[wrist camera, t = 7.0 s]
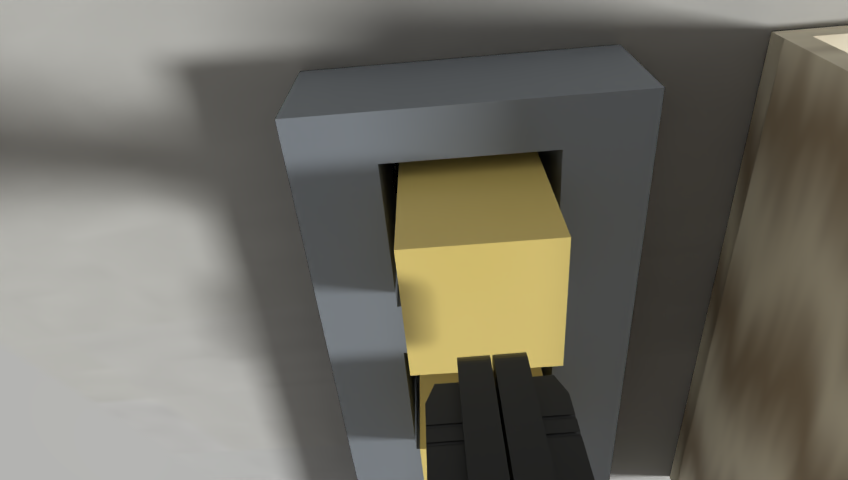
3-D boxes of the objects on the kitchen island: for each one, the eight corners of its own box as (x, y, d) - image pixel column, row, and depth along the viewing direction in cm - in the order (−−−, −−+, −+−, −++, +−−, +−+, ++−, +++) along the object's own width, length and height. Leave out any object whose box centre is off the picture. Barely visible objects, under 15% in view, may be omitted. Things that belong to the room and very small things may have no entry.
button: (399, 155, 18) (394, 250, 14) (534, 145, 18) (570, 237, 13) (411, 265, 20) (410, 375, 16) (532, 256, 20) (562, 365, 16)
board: (300, 71, 19) (274, 119, 16) (619, 44, 19) (664, 87, 15) (382, 493, 31) (378, 572, 28) (578, 482, 31) (597, 560, 27)
